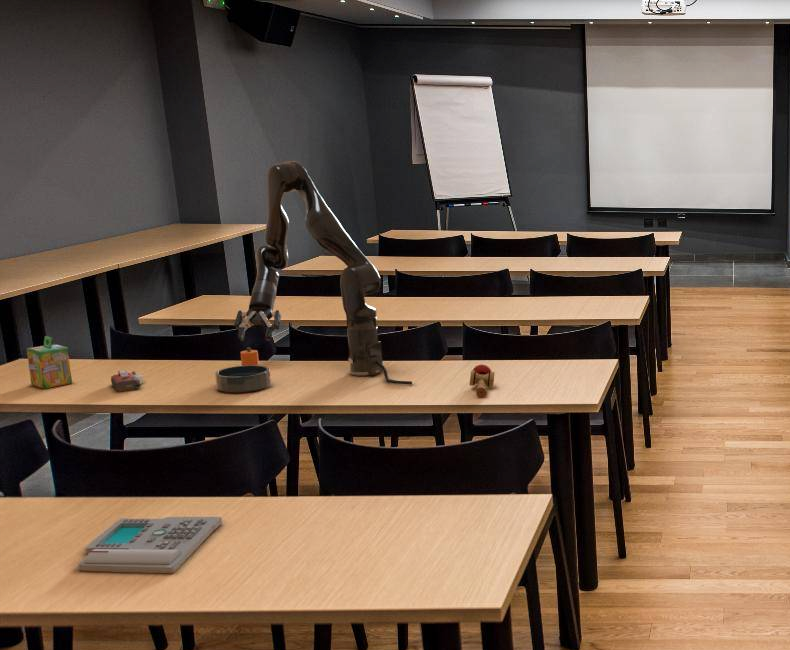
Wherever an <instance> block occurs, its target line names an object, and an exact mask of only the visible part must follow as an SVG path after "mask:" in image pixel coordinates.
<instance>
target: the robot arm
mask: <svg viewBox="0 0 790 650" xmlns="http://www.w3.org/2000/svg"><path fill="white" fill-rule="evenodd" d="M266 174H267V175H266V199H267V201H266V202H267V204H266V205H267V219H266V225H265V232H264V242H265V243H266V244H261V245H259V246H258V247H257V249H256V252H255V260H256V266H257V268H256V269H257V271H256V277H255V282H254V285H253V288H252V290H251V296H250V299H249V304H248V310H247V311H242V310H238V311H237V314H236V317H235V321H234V322H233V323H234V324H233V326H234V327H235V329H236V330H237V331H238V333H237V337H238V339H239V341H241V342H243V341H244V340H245V335H246V331H247V330H248V329H249V328H251V327H252V326H264V325H266V330H265V335H264V339H265V340H266V342H269V341H270V340H272V337H273V333H274V331H275V330H277V331H278V330H280V328H281V323H282V322H281V320H282V313H281V312H280V310H278V309H276V310H275V311H274V306H275V301H276V299H277V289H278V284H279V279H280V274H279V273H278V271H277V270H280V271H281V270H284V269H286V268H287V266H288V264H289V251H288V246H287V245H288V244H287V240H288V233H289V226H290V221H289V217H288V215H287V213H286V211H285V210H284V207H283V205H282V199H283V196H284V194H289V193H293V192H297V193H298V194H299V195H300V197H301V199H302V200H303V202H304V206H305V216H304V217H305V218H304V219H305V226H306V229H307V231H308V232H309V233H310V235H311V236H312V237H313V238H312V239H314V241H315V242H316V243H317V244H318V245H319V246H320V247H321V248H322V249H323V250H325V251H326V252H328V253H330V254H331V255H333V256H334V257H336V258H338V259H339V260H340V261H341V262H342V263H344V265H346V267H345V268H344V269H342V271H341V274H340V278H339V283H340V284H339V286H340V292H341V293H340V294H341V302H342V308H343V311H344V313H345V318H346V331H347V332H346V333H347V344H348V345H347V346H348V347H347V348H348V363H349V374H350V375H352V376H357V377H367V376H369V377H372V376H375V375H378V374H381V373H383V376H384V379H385V380H386V382H387V383H390V384H397V385H408V386H409V385H410V386H411V385H413V381H410V380H396V379H390V378H389V375H388V372H387V368H386V367H385V366H384V363H383V350H382V342H381V341H379V331H378V330H379V329H378V315H377V309H376V308H375V307H374V306H371V305H368V304H367V303H366V299H365V296H367V295H371V294H374V293H377V292H378V291H379V290H380V288H381V276H380V274H379V272H378V270H377V268H376V267H375V266H374V264H372V262H371V261H370V259H368V258H367V257H366V256H365V254H363V252H362V251H361V249H360V248H359V247H358V246H357V245H356V243H355V242H354V241H353V240H352V238H351V236H350V235H349V234H348V233H347V232H346V230H345V229H344V227H343V226H342V224H341V223H340V221H339V220H338V218H337V217H336V215H335V214H334V213H333V211H332V210H331V208H330V207H328V205H327V204H326V203H327V202H325V200H324V198H323V197H322V196H321V194H320V193H319V191H318V189H317V187H316V186H315V184H314V182H313V181H312V179H311V177H310V175H309V173H308V171H307V170H306V168H305V167H304V166H303V165H302V164H301V163H300V162H299V161H297V160H288V161H284V162H279V163H275V164H272V165H270V167H269V168H268V170H267V173H266ZM272 318H274V319H273V323H272V324H271V322H270V320H271V319H272Z"/></svg>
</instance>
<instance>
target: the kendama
mask: <svg viewBox="0 0 790 650" xmlns="http://www.w3.org/2000/svg"><path fill="white" fill-rule="evenodd" d="M495 374H496V373H495V371H492V369H491V368H490V367H489V366H488V365H486V364H478V365H475V366H474V368H473V369H472V370H471V371H470V377H469V386H471V387H474V386H475V385H477V386H476V390H475V394H476V396H477V397H478V398H485V397H486V396H487V391H488V390H487V388H488V389H493V388H494V384H495V383H494V382H495Z"/></svg>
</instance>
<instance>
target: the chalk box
mask: <svg viewBox="0 0 790 650" xmlns="http://www.w3.org/2000/svg"><path fill="white" fill-rule="evenodd" d="M47 341H48V343H47ZM26 355H27V363H28V370H29V377H30V384H31V385H32V386H34V387H38V388H41V389H44V390H46V389H50V388H54V387H59V386H60V387H61V386H65V385H71V384H73V380H72V372H71V366H70V365H71V364H70V358H69V350H68V347H67V346H64V345H60V344H56V343H53V337H52V336H48V335H45V336H44V339H43V345H40V346H34V347H33V346H32V347H28V348H26Z"/></svg>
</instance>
